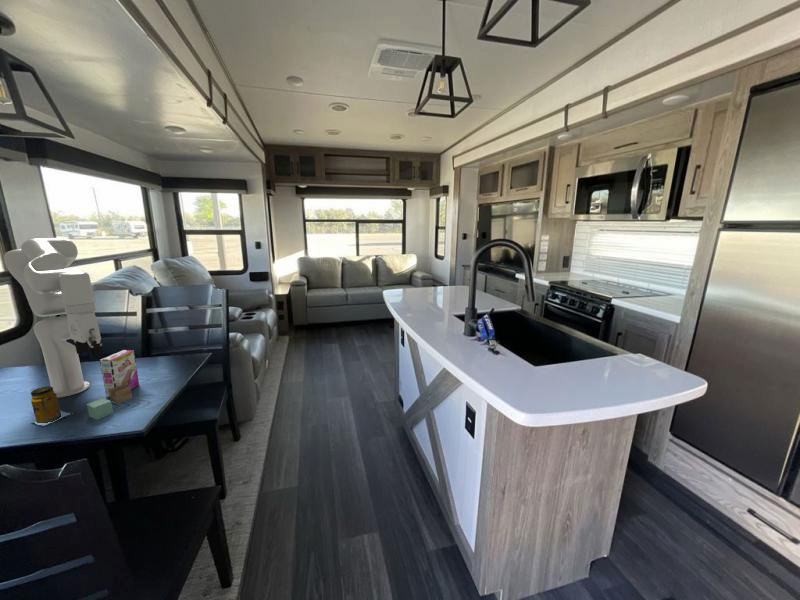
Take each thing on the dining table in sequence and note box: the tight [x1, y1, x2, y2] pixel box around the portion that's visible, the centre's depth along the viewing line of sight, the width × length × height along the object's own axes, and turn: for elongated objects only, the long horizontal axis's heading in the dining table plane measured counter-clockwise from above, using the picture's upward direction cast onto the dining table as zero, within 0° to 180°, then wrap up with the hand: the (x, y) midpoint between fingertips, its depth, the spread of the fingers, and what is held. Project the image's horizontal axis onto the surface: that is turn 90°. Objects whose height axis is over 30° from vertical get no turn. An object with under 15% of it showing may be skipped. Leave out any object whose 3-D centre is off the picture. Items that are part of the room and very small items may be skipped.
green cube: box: [86, 397, 114, 421], centre depth 118 cm, size 5×5×5 cm
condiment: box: [30, 385, 74, 423], centre depth 114 cm, size 7×8×12 cm
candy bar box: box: [99, 349, 140, 398], centre depth 134 cm, size 11×5×16 cm, turn 178°
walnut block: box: [109, 384, 133, 405], centre depth 129 cm, size 5×5×5 cm
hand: (90, 355), depth 114 cm, fingers open, 9 cm apart
